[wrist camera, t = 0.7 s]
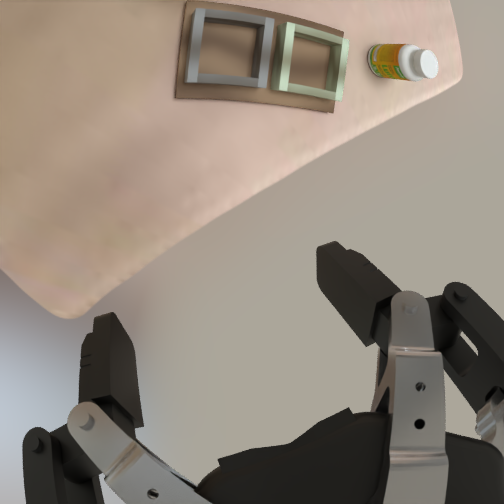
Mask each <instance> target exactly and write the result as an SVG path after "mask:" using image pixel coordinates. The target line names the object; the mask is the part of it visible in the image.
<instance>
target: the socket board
mask: <svg viewBox="0 0 504 504" xmlns="http://www.w3.org/2000/svg"><path fill="white" fill-rule="evenodd" d="M343 34H344V32H343V31H340V30H337V29H334V28H331V27H328V26H325V25H322V24H318V23H315V22H312V21H308V20H305V19H301V18H297V17H293V16H289V15H285V14H281V13H276V12H272V11H267V10H262V9H257V8H251V7H245V6H239V5H232V4H224V3H215V2H205V1H191V0H187V2H186V7H185V13H184V20H183V28H182V35H181V43H180V52H179V61H178V72H177V83H176V95H175V98H202V99H224V100H238V101H250V102H260V103H270V104H278V105H286V106H293V107H299V108H306V109H312V110H318V111H323V112H329V113H333V112H334V105H335V101H341V102H342V95H343V88H344V81H345V73H346V65H347V57H348V49H349V40H348V39H345V38H343Z"/></svg>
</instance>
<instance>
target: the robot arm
mask: <svg viewBox="0 0 504 504" xmlns="http://www.w3.org/2000/svg"><path fill="white" fill-rule="evenodd" d="M316 253H317V254H316V256H317V282H318V285H319V287H320V289H321V291H322V292H323V294H324V295H325V296H326V297H327V298H328V300H329V301H330V302H331V303H332V305H333V306H334V307H335V308H336V310H337V311H338V312H339V314H340V315H341V316H342V317H343V319H344V320H345V321H346V322H347V324H349V326H350V327H351V329H352V330H353V331H354V332H355V333H356V335H357V336H358V337H359V339H360V340H361V341H362V342H363V344H364V345H365V346H366V347H367V346H369V345H371V344H373V343H375V342H376V343H377V345H378V346H379V348H378V358H377V359H378V360H377V373H376V385H375V393H374V398H373V402H372V406H371V411H370V412H361V413H355V414H353V413H352V412H351V410H350V409H349V407H348V408H347V409H344V410H343V411H340V412H339V413H336V414H335V415H332V416H330V417H328V418H326V419H324V420H322V421H320V422H318V423H317V424H316V425H314V426H313V427H312V428H310V429H309V430H308V431H306V432H305V433H304V434H302V435H301V436H299V437H298V438H297V439H295V440H294V441H293V442H291V443H289V444H285V445H278V446H271V447H262V448H254V449H249V450H246V451H242V452H239V453H236V454H233V455H230V456H226V457H223V458H219V459H218V462H219V465H220V466H219V467H217V468H216V469H215V470H213V471H212V472H210V473H209V474H208V475H207V476H205V477H204V478H203V479H202V481H201V482H200V483H199V484H198V486H197V485H195V484H194V483H193V482H191V481H190V480H189V479H187V478H185V477H184V476H183V475H181V474H180V473H178V472H177V471H175V470H174V469H172V468H171V467H170V466H169V465H167V464H166V463H165V462H164V461H163V460H161V459H160V458H159V457H158V456H156V455H155V454H154V453H153V452H152V451H150V450H149V449H148V448H147V447H146V446H145V445H143V444H142V443H141V442H140V441H139V440H138V439H137V438H136V435H135V428H139V427H144V423H143V417H142V410H141V403H140V395H139V387H138V378H137V368H136V357H135V350H134V346H133V343H132V341H131V339H130V337H129V336H128V334H127V332H126V331H125V329H124V328H123V326H122V324H121V323H120V321H119V319H118V318H117V316H116V314H115V313H114V312H110V313H107V314H104V315H101V316H97V317H95V318H94V324H93V332H92V333H89V334H87V335H86V337H85V339H84V342H83V344H82V347H81V360H80V367H81V369H80V375H79V402H78V405H76V406H75V407H74V408H73V409H72V411H71V412H70V414H69V416H68V421H67V424H65V425H63V426H62V427H60V428H58V429H56V430H54V431H52V432H50V433H49V432H48V431H46V430H45V429H43V428H41V427H35V428H32V429H31V430H29V431H28V433H27V434H26V435H25V438H24V440H23V474H24V488H25V497H26V504H104V500H103V495H102V490H101V486H100V481H99V474H101V473H104V475H105V478H104V480H105V482H106V484H107V485H108V486H109V487H110V488H111V489H112V490H113V491H114V492H115V493H116V494H117V495H118V496H119V497H120V498H121V499H122V500H123V501H124V502H125V503H126V504H504V321H503V320H502V319H501V317H500V316H499V315H498V314H497V313H496V312H495V311H494V310H493V309H492V308H491V307H490V306H489V305H488V304H487V303H486V302H485V301H484V300H483V299H482V298H481V297H480V296H478V294H477V293H475V292H474V291H473V290H472V289H471V288H470V287H469V286H467V285H466V284H463V283H460V282H452V283H449V284H447V286H446V287H445V289H444V291H443V294H442V295H439V296H434V297H429V298H424V297H423V296H422V295H420V294H419V293H416V292H413V291H401V290H400V289H399V288H398V287H397V286H396V285H395V284H394V283H393V282H392V281H391V280H390V279H389V278H388V277H387V276H385V275H384V274H383V273H382V272H381V271H380V270H379V269H377V267H376V266H375V265H373V264H372V263H370V261H369V260H368V259H367V258H366V257H365V256H364V255H362V254H361V253H358V252H356V251H354V250H351V249H349V250H346V249H345V248H344V247H343V246H342V245H340V244H339V243H338V242H336V241H333V242H330V243H327V244H324V245H322V246H319V247H318V248H317V251H316ZM462 331H463V332H464V334H465V335H466V336H467V337H468V338H469V339H470V340H471V342H472V343H473V344H474V345H475V346H476V348H477V350H478V356H477V354H476V353H475V352H474V351H473V350H472V349H471V347H470V346H469V345H468V344H467V343H466V342H465V340H464V339H463V338H462V337H461V336H460V334H461V332H462ZM443 369H444V370H445V372H446V373H447V374H448V375H449V377H450V378H451V380H452V381H453V382H454V384H455V385H456V386H457V388H458V389H459V390H460V392H461V393H462V394H463V396H464V397H465V398H466V400H467V401H468V403H469V404H470V406H471V407H472V408H473V410H474V411H475V413H476V414H477V418H476V423H477V425H476V427H475V431H476V433H477V434H478V435H481V440H478V439H474V438H470V437H465V436H461V435H457V434H453V433H449V432H446V431H445V386H444V370H443Z"/></svg>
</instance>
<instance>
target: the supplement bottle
mask: <svg viewBox="0 0 504 504" xmlns="http://www.w3.org/2000/svg"><path fill="white" fill-rule="evenodd" d="M368 62H369V66H370V68H371V70H372V71H373V72H374V73H375V74H376V75H377V76H379V77H383V78H392V79H400V80H408V81H420V80H422V79H423V78H429V79H432V78H434V77H435V76H436V75H437V72H438V61H437V58H436V56H435V55H434V53H433V52H432V51H430V50H425V49H420V48H419V47H417V46H415V45H412V44H378V45H375V46H373V47H372V48H371V49H370V51H369V54H368Z"/></svg>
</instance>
